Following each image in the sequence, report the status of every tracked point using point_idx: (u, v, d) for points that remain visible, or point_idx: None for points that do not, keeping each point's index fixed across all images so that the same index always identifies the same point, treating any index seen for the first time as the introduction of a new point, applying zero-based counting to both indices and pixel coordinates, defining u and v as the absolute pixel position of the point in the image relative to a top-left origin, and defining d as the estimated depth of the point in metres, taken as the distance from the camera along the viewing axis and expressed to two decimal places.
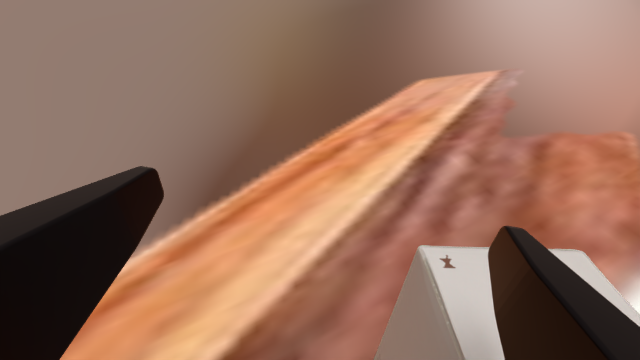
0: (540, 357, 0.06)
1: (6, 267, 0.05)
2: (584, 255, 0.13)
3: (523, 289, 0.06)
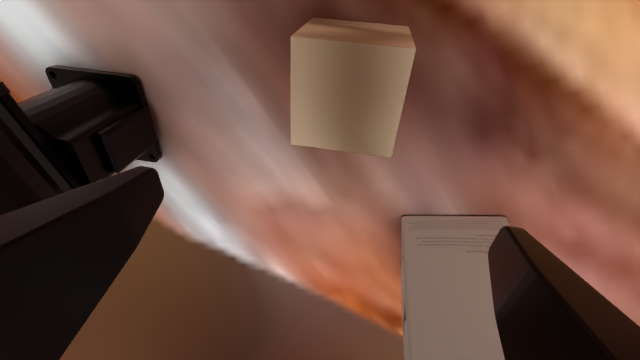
0: (540, 357, 0.06)
1: (6, 267, 0.05)
2: None
3: (523, 289, 0.06)
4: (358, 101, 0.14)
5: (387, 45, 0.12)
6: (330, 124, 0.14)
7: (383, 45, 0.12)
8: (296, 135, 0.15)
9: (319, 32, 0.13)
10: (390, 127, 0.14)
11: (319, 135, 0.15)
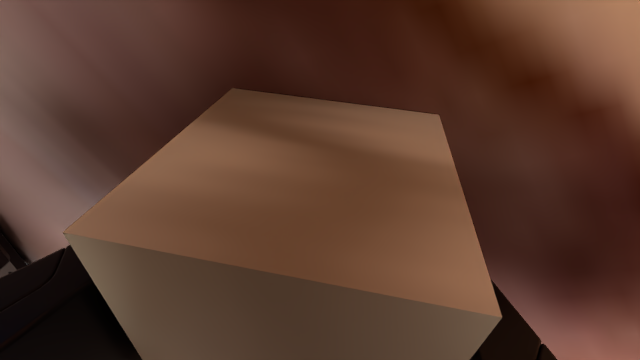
0: None
1: None
2: None
3: None
4: None
5: (392, 285, 0.03)
6: None
7: (377, 287, 0.03)
8: None
9: (193, 181, 0.05)
10: None
11: None
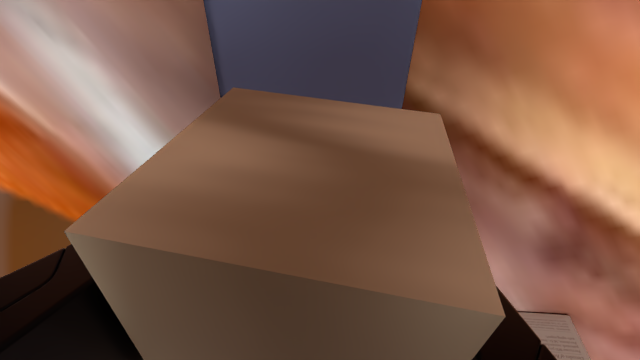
0: None
1: None
2: None
3: None
4: None
5: (394, 284, 0.03)
6: None
7: (380, 286, 0.03)
8: None
9: (194, 180, 0.05)
10: None
11: None
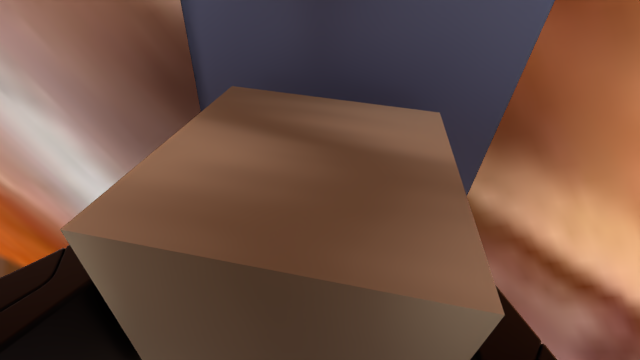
0: None
1: None
2: None
3: None
4: None
5: (393, 282, 0.03)
6: None
7: (378, 284, 0.03)
8: None
9: (192, 179, 0.05)
10: None
11: None
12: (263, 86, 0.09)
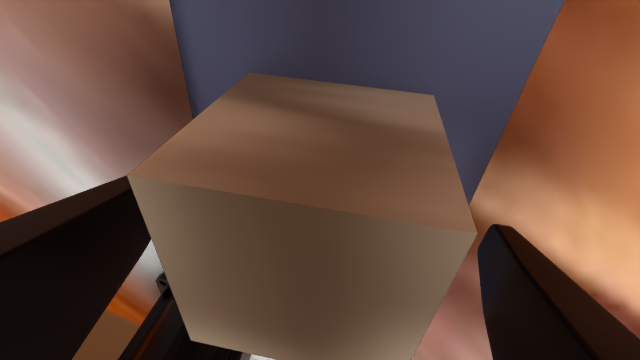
0: (525, 354, 0.06)
1: (18, 270, 0.05)
2: None
3: (510, 286, 0.06)
4: (321, 306, 0.06)
5: (391, 212, 0.04)
6: (262, 328, 0.07)
7: (380, 214, 0.04)
8: (198, 331, 0.07)
9: (225, 142, 0.05)
10: (395, 350, 0.06)
11: (244, 338, 0.07)
12: None
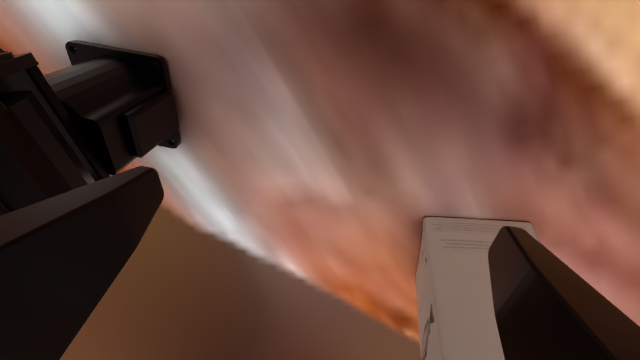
0: (540, 357, 0.06)
1: (5, 267, 0.05)
2: None
3: (523, 289, 0.06)
4: None
5: None
6: None
7: None
8: None
9: None
10: None
11: None
12: None
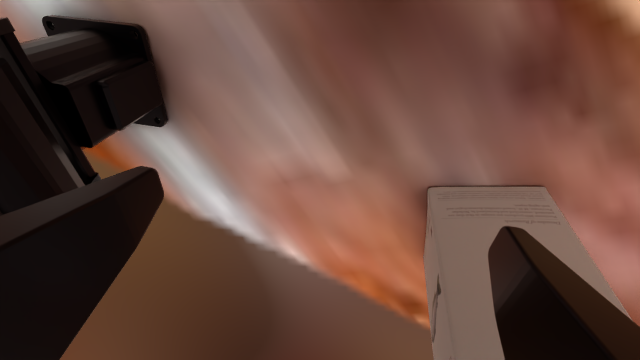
0: (540, 357, 0.06)
1: (5, 267, 0.05)
2: None
3: (523, 289, 0.06)
4: None
5: None
6: None
7: None
8: None
9: None
10: None
11: None
12: None
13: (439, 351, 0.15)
